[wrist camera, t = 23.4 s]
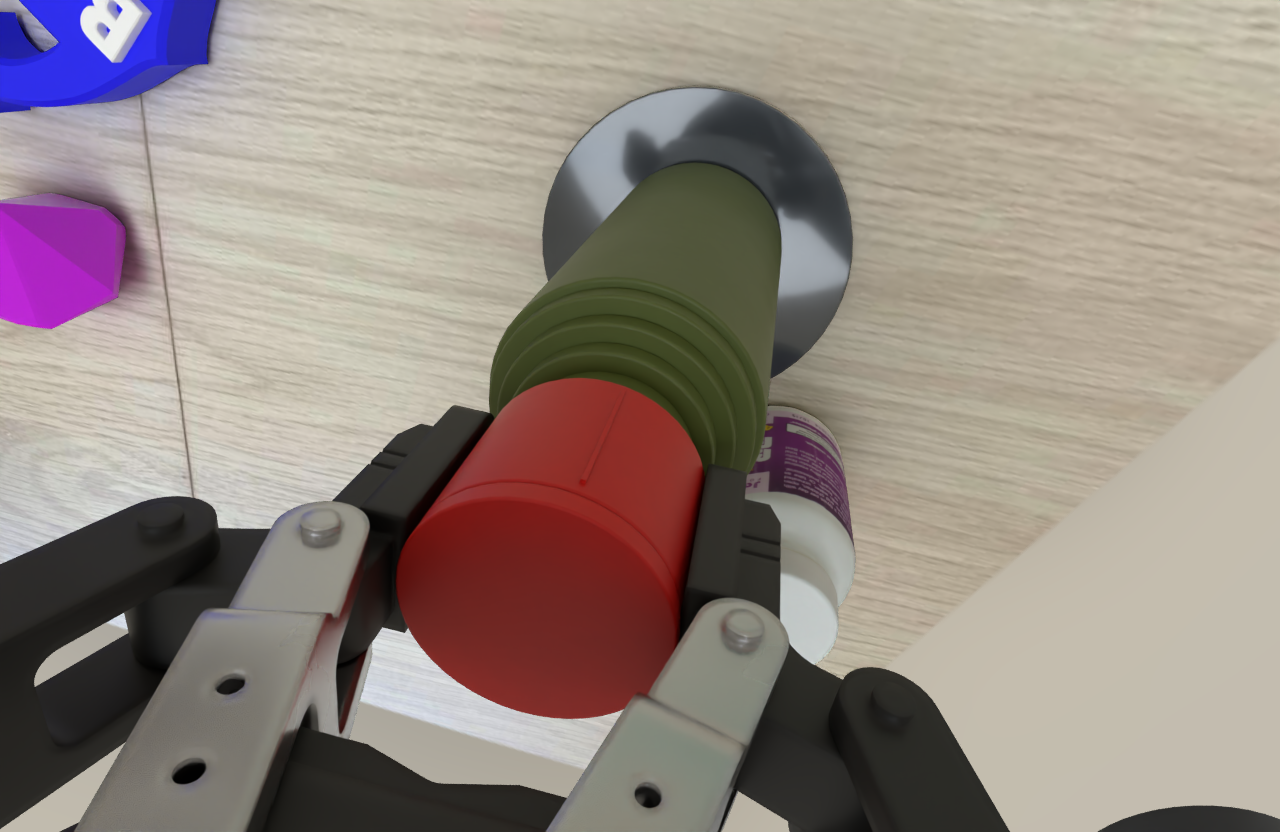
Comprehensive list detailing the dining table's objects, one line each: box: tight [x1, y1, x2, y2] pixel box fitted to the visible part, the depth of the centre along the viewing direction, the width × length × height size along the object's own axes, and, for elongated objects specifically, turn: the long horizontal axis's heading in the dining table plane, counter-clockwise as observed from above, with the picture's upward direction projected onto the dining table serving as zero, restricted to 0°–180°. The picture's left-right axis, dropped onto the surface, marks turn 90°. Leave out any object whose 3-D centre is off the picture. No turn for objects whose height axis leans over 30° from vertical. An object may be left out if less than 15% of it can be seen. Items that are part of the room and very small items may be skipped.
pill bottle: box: [745, 406, 856, 664], centre depth 26 cm, size 5×5×10 cm
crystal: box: [0, 193, 126, 329], centre depth 29 cm, size 5×5×5 cm
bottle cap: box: [396, 378, 705, 719], centre depth 12 cm, size 4×4×4 cm
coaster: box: [542, 86, 853, 379], centre depth 27 cm, size 11×11×1 cm
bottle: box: [489, 163, 782, 476], centre depth 19 cm, size 6×6×18 cm
